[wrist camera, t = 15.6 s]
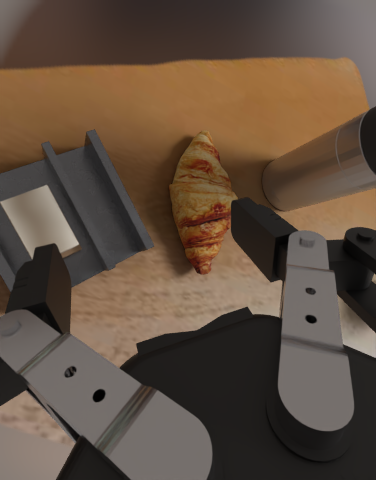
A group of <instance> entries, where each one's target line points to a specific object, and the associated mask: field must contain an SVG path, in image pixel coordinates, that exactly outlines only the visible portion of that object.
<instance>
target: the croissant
mask: <svg viewBox="0 0 376 480" xmlns="http://www.w3.org/2000/svg"><path fill="white" fill-rule="evenodd" d="M231 190H232V188H231V181H230V179H229V177H228V174H227V173H226V172H225V170H224V169H223V168H222V166H221V163H220V157H219V153H218V151H217V150H216V148H215V146H214V145H213V144H212V138H211V136H210V134H209V132H207V131H201V132H200V133H198V134H197V135H196V136H195V137H194V138H193V140H192V142H191V144H190V145H189V147H188V148H187V149H186V150H185V152H184V154H183V155H182V157H181V158H180V161H179V163H178V165H177V169H176V173H175V176H174V180H173V183H172V184H170V185H169V191H170V198H171V202H172V204H173V205H172V213H173V217H174V221H175V224H176V226H177V228H178V232H179V235H180V238H181V241H182V244H183V246H184V248H185V253H186V257H187V258H188V259H189V261H190V263H191V264H192V265H193V267H194V268H195V270H196V272H197V273H199V274H207V273H209V272H210V271H211V260H212V259H213V258H214V257H215V256H216V255H217V254H218V252H219V250H220V247H221V245H222V243H221V242H222V241H223V238H224V234H225V233H226V231H227V230H228V229H229V228H230V227H231V202H232V201H233V200H237V199H238V197H236V194H235V193H234V192H233V191H231Z"/></svg>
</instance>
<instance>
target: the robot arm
mask: <svg viewBox="0 0 376 480" xmlns="http://www.w3.org/2000/svg"><path fill="white" fill-rule="evenodd" d="M262 185H263V190H264V193H265V196H266V197H267V199H268V201H269V202H270V203H271V204H272V205H273V206H274V207H275V208H277V209H279V210H282V211H290V210H294V209H298V208H302V207H306V206H310V205H314V204H318V203H321V202H325V201H329V200H333V199H337V198H340V197H344V196H348V195H352V194H355V193H359V192H363V191H367V190H370V189H374V188H376V107H374V108H372V109H370V110H368V111H366V112H364V113H362V114H361V115H359V116H357V117H355V118H353V119H351V120H349V121H347V122H346V123H344V124H342V125H340V126H338V127H336V128H334V129H332V130H331V131H329V132H327V133H325V134H323V135H321V136H319V137H317V138H315V139H313V140H312V141H310V142H308V143H306V144H304V145H302V146H300V147H298V148H296V149H295V150H293V151H291V152H289V153H287V154H285V155H283V156H281V157H279V158H277V159H276V160H274V161H272V162H270V163H269V164H268V165H267V166H266V168H265V170H264V172H263V177H262ZM231 233H232V236H233V238H234V240H235V241H236V243H237V244H238V245H239V246H240V247H241V248H242V250H243V251H244V252H245V253H246V254H247V255H248V257H249V258H250V259H251V260H252V261H253V262H254V264H255V265H256V266H257V267H258V268H259V269H260V271H261V272H262V273H263V274H264V275H265V276H266V278H267V279H268V280H269V281H270V282H274V281H277V280H280V279H281V280H282V281H283V283H282V292H281V302H280V312H279V317H276V316H271V315H263V314H254V315H253V314H252V313H251V311H250V310H249V308H248V307H245V308H242V309H239V310H236V311H233V312H230V313H227V314H224V315H221V316H220V317H218V318H216V319H215V320H213V321H212V322H210V323H208V324H207V325H205V326H204V327H202V328H200V329H198V330H196V331H188V332H179V333H169V334H164V335H161V336H158V337H155V338H152V339H149V340H146V341H142V342H139V343H136V345H137V350H138V353H137V354H136V355H134V356H132V357H131V358H130V359H129V360H127V361H126V362H125V363H124V364H123V365H122V366H121V367H120V368H118V367H117V366H115V365H114V364H113V363H111V362H110V361H108V360H107V359H106V358H104V357H103V356H101V355H100V354H99V353H97V352H96V351H94V350H93V349H91V348H90V347H89V346H87V345H86V344H84V343H83V342H82V341H80V340H79V339H77V338H76V337H75V336H73V335H72V334H70V316H71V278H70V274H69V271H68V269H67V267H66V264H65V262H64V260H63V258H62V255H61V253H60V251H59V249H58V246H57V245H56V244H55V243H52V244H48V245H43V246H39V247H36V248H35V250H34V255H33V259H32V261H28V262H25V263H24V264H23V265H22V266H21V267H20V269H19V270H18V271H17V274H16V277H15V282H14V284H13V290H12V291H11V294H10V298H9V301H8V305H7V308H6V312H5V314H4V315H2V316H1V317H0V406H1V405H3V404H4V403H6V402H8V401H9V400H11V399H12V398H14V397H16V396H17V395H19V394H20V393H22V392H24V391H26V392H27V393H28V394H29V395H30V396H31V397H32V398H33V399H34V400H35V401H36V402H37V403H38V404H39V405H40V406H41V407H42V408H43V409H44V410H45V411H46V412H47V413H48V414H49V415H50V416H51V417H52V418H53V419H54V420H55V421H56V422H57V423H58V424H59V426H60V427H61V428H62V429H63V430H64V431H65V432H66V433H67V435H68V436H69V437H70V438H71V439H72V440H73V441H74V442H75V443H76V444H75V445H74V447H73V449H72V451H71V453H70V455H69V457H68V458H67V460H66V462H65V464H64V466H63V468H62V469H61V471H60V473H59V475H58V477H57V479H56V480H376V358H374V357H372V356H369V355H367V354H365V353H362V352H360V351H358V350H355V349H353V348H351V347H348V346H346V345H344V344H343V342H342V333H341V325H340V316H339V307H338V299H337V295H338V296H339V297H340V298H341V299H342V300H343V301H344V302H345V303H346V304H347V305H348V306H349V307H350V308H351V309H352V310H353V311H354V312H355V313H356V314H357V315H358V316H359V317H360V318H361V319H362V320H363V321H364V322H365V323H366V324H367V325H368V326H369V327H370V328H371V329H372V330H373V331H374V332H375V333H376V284H374V283H373V282H372V281H371V280H372V278H373V275H374V273H375V274H376V231H375V230H373V229H369V228H363V227H356V228H351V229H349V230H347V231H346V233H345V237H344V239H343V240H326V239H325V238H324V237H323V236H322V235H320V234H318V233H316V232H312V231H305V230H304V231H298V230H297V229H296V228H294V227H293V226H292V225H290V224H289V223H288V222H287V221H285V220H284V219H283V218H281V217H280V216H279V215H278V214H276V213H275V212H274V211H273V210H271V209H270V208H268V207H265V206H263V205H260V204H259V205H257V204H256V203H255V202H253V201H252V200H251V199H250V198H248V197H245V198H241V199H237V200H233V201H232V202H231Z"/></svg>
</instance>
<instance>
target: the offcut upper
mask: <svg viewBox="0 0 376 480" xmlns="http://www.w3.org/2000/svg"><path fill="white" fill-rule="evenodd" d="M0 203H1V204H2V206H3V208H4V210H5V212H6V213H7V215H8V217H9V219H10V220H11V222H12V224H13V226H14V228H15V229H16V231H17V233H18V235H19V236H20V238H21V240H22V242H23V244H24V245H25V247H26V249H27V251H28V252H29V254H30V256H31V258H32V259H33V255H34V250H35V248H36V247H39V246H43V245H48V244H52V243H55V244H56V245H57V246H58V249H59V251H60V253H64V252H66V251H68V250H70V249H72V248H74V247H76V246H78V245H79V243H78V241H77V240H76V238H75V236H74V234H73V232H72V230H71V228H70V227H69V225H68V223H67V221H66V219H65V217H64V216H63V214H62V212H61V210H60V208H59V206H58V204H57V203H56V201H55V199H54V197H53V195H52V193H51V192H50V190H49V188H48V186H47V185H45V186H42V187H40V188H37V189H34V190H31V191H29V192H26V193H23V194H20V195H18V196H15V197H12V198H9V199H7V200H4V201H1V202H0Z"/></svg>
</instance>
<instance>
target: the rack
mask: <svg viewBox="0 0 376 480" xmlns="http://www.w3.org/2000/svg"><path fill="white" fill-rule="evenodd" d="M41 145H42V150H43V155H44V160H41V161H38V162H34V163H31V164H28V165H25V166H22V167H19V168H16V169H13V170H10V171H7V172H4V173H1V174H0V202H1V201H4V200H7V199H9V198H12V197H15V196H18V195H20V194H23V193H26V192H29V191H31V190H34V189H37V188H40V187H42V186H45V185H48V187H49V189H50V190H51V192H52V194H53V196H54V198H55V200H56V202H57V203H58V205H59V207H60V209H61V211H62V213H63V214H64V216H65V218H66V220H67V222H68V224H69V226H70V227H71V229H72V231H73V233H74V235H75V237H76V238H77V240H78V242H79V244H80V246H81V248H82V249H81V250H80V251H78V252H76V253H74V254H71V255H69V256H67V257H65V258H63V260H64V262H65V264H66V267H67V269H68V271H69V274H70V278H71V288H72V287H74V286H75V285H77V284H79V283H81V282H83V281H85V280H87V279H89V278H91V277H93V276H94V275H96V274H98V273H100V272H102V271H104V270H107V271H109V270H111V269H113V268H115V264H117V263H119V262H121V261H123V260H125V259H127V258H129V257H130V256H132V255H134V254H136V253H138V252H141V251H145V250H148V249H150V248H152V247H154V244H153V242H152V240H151V238H150V236H149V234H148V233H147V231H146V229H145V227H144V225H143V223H142V221H141V219H140V217H139V215H138V213H137V211H136V209H135V207H134V205H133V203H132V201H131V199H130V197H129V195H128V193H127V192H126V190H125V188H124V186H123V184H122V182H121V180H120V178H119V176H118V174H117V172H116V170H115V168H114V166H113V164H112V162H111V160H110V158H109V156H108V154H107V152H106V151H105V149H104V147H103V145H102V143H101V141H100V139H99V137H98V135H97V133H96V131H95V129H94V130H91V131H88V132H86V138H85V145H84V147H80V148H77V149H74V150H71V151H68V152H65V153H62V154H59V155H56V154H55V152H54V150H53V148H52V146H51V144H50V143H49V141H48V142H45V143H42V144H41ZM28 261H32V259H31V257H30V255H29V254H28V252H27V250H26V248H25V247H24V245H23V243H22V241H21V239H20V238H19V236H18V234H17V232H16V231H15V229H14V227H13V225H12V224H11V222H10V220H9V218H8V216H7V215H6V213H5V211H4V209H3V208H2V206H1V204H0V275H1V276H2V278H3V280H4V282H5V283H6V285H7V287H8V289H9V290H10V292H11V291H12V290H13V284H14V282H15V277H16V274H17V271H18V270H19V269H20V267H21V266H22V265H23V264H24V263H25V262H28Z"/></svg>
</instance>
